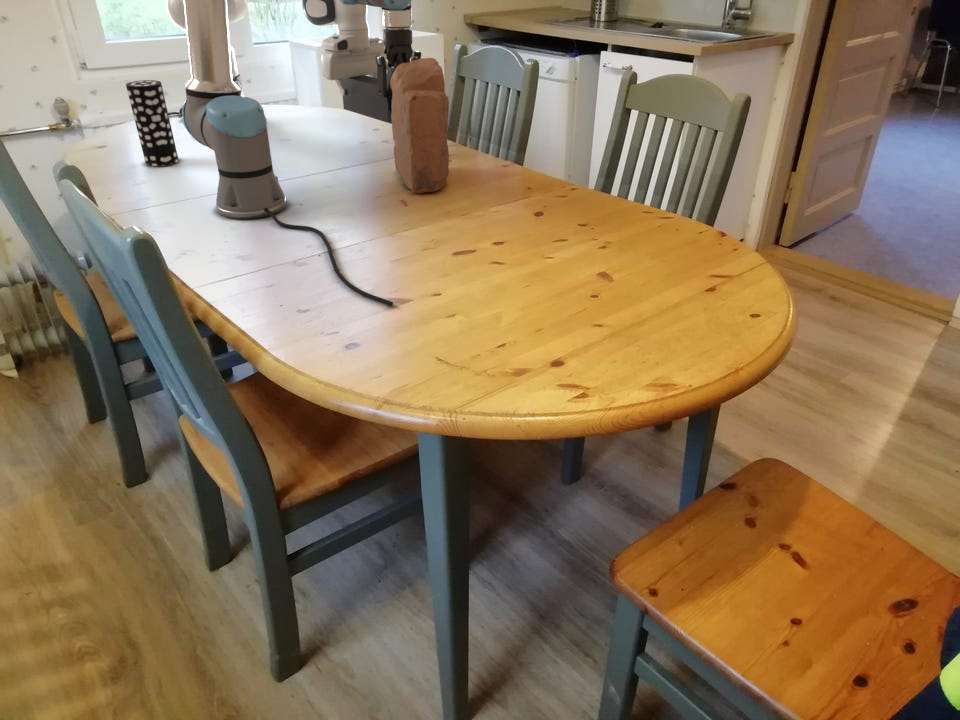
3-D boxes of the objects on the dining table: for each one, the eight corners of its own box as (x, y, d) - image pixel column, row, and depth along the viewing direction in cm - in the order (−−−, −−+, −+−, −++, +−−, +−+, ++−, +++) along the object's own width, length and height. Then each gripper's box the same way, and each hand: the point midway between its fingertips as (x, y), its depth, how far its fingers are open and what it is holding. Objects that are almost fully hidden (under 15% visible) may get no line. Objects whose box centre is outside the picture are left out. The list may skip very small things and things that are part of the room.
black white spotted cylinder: (184, 157, 190) (167, 80, 179) (169, 166, 183) (151, 87, 172) (155, 156, 190) (136, 79, 179) (139, 165, 183) (119, 86, 172)
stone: (458, 191, 168) (455, 67, 154) (413, 195, 165) (406, 69, 151) (434, 168, 185) (430, 55, 171) (393, 172, 182) (386, 57, 168)
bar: (418, 123, 188) (417, 88, 183) (401, 126, 185) (399, 91, 180) (360, 106, 205) (357, 73, 200) (343, 109, 201) (340, 75, 196)
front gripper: (416, 23, 184) (419, 113, 196) (358, 29, 173) (365, 124, 185) (434, 26, 179) (436, 118, 192) (376, 32, 168) (382, 129, 181)
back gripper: (377, 35, 199) (380, 86, 206) (316, 42, 187) (322, 96, 194) (390, 37, 195) (393, 89, 202) (329, 45, 183) (334, 99, 190)
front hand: (401, 120), depth 188 cm, fingers closed on bar, 6 cm apart
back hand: (358, 92), depth 198 cm, fingers open, 8 cm apart
